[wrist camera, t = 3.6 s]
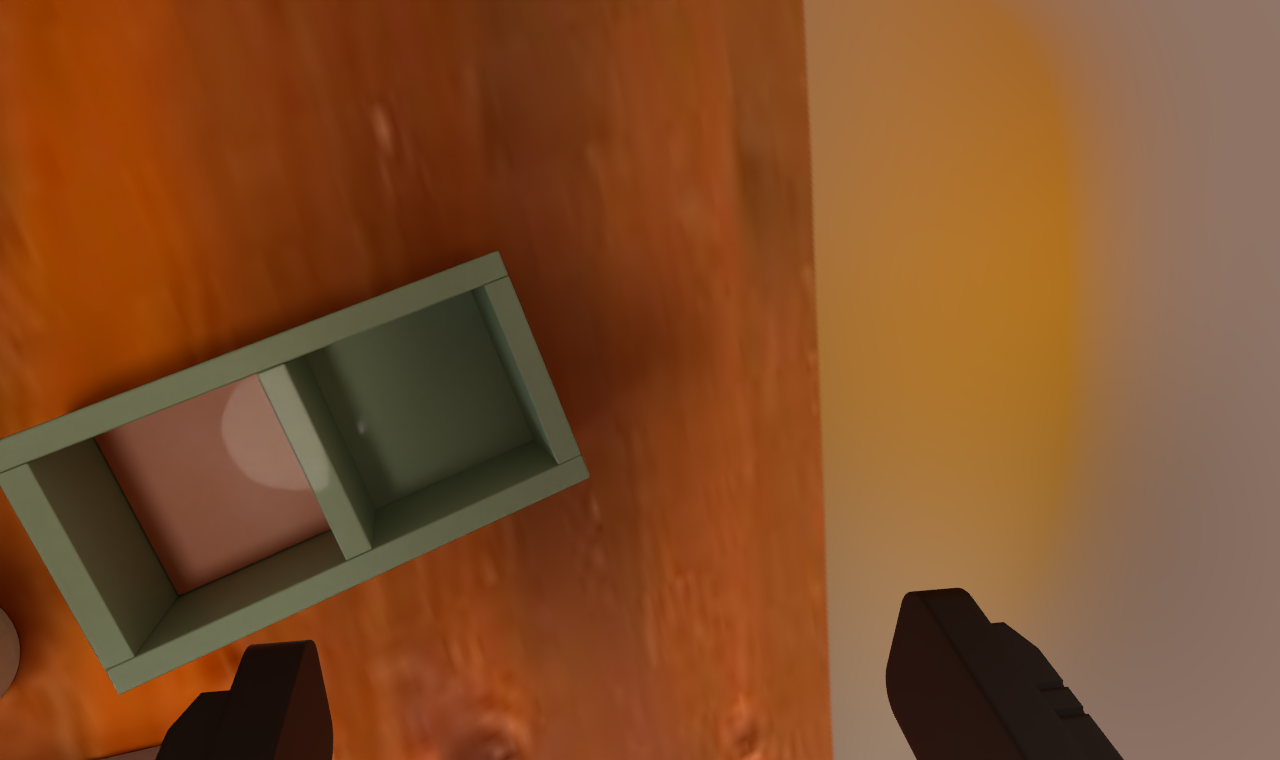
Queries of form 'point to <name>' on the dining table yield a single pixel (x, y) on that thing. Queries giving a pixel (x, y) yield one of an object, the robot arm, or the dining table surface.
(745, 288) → the dining table surface
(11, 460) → the rack
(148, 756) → the handheld gaming console
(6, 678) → the bottle
